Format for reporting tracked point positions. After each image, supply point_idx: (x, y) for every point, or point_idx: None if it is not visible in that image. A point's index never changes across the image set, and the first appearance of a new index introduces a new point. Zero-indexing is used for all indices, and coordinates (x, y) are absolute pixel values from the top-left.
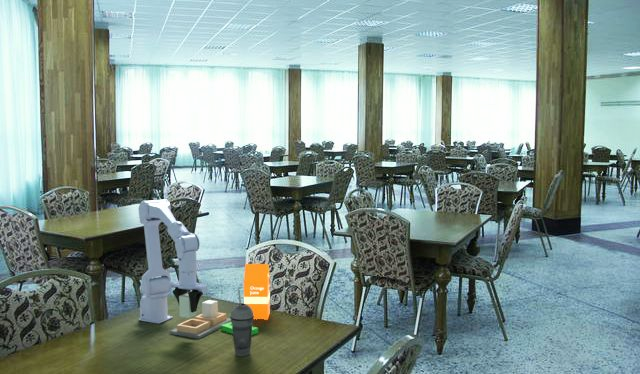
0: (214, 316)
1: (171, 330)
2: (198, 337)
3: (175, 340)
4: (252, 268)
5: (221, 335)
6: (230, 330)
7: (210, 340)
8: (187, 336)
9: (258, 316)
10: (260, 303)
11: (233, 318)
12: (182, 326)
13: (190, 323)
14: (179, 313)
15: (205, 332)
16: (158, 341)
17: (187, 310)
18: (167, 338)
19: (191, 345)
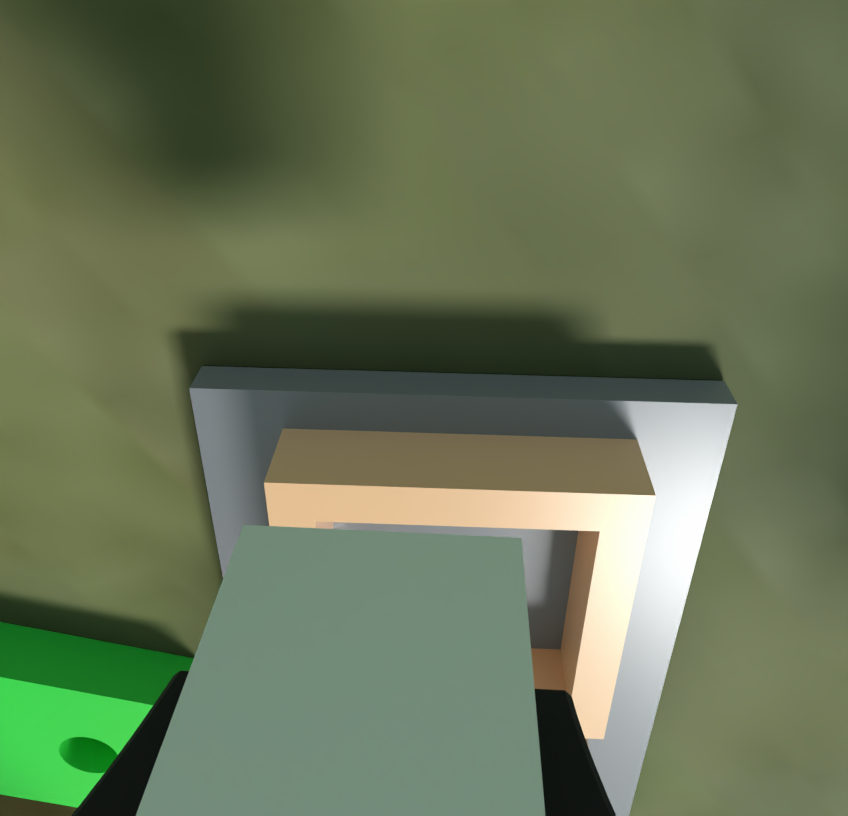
0: None
1: (726, 423)
2: (209, 375)
3: (480, 179)
4: None
5: (63, 550)
6: (25, 654)
7: (28, 374)
8: (408, 374)
9: None
10: None
11: None
12: (535, 486)
13: (566, 655)
14: (524, 589)
15: (216, 516)
16: (741, 9)
17: (243, 666)
18: (661, 204)
19: (86, 90)
